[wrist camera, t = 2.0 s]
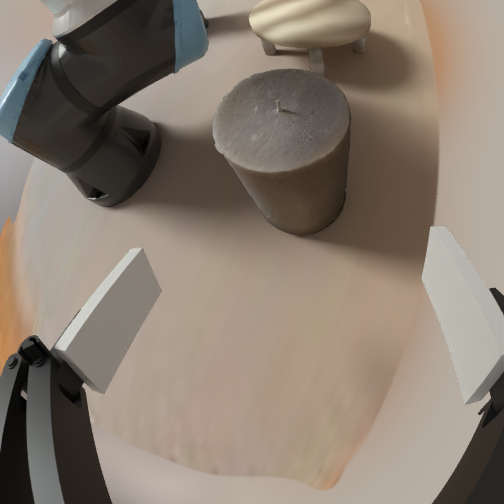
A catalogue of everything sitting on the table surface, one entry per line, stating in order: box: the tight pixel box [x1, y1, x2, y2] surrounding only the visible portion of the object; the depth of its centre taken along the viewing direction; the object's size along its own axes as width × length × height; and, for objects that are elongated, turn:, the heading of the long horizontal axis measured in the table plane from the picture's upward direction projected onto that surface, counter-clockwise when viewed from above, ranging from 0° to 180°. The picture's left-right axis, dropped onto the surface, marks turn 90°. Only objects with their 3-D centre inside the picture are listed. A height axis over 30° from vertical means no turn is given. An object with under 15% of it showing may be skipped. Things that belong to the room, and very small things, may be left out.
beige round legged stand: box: [249, 0, 371, 77], centre depth 30 cm, size 17×17×8 cm
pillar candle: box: [213, 69, 351, 235], centre depth 23 cm, size 10×10×15 cm
